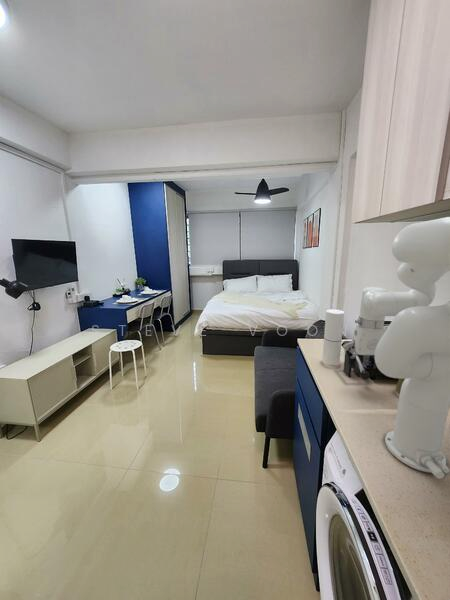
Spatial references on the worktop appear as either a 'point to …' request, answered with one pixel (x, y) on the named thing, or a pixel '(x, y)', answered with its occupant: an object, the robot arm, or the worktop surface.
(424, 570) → the worktop surface
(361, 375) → the lever
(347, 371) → the bracket
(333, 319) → the cylindrical container
